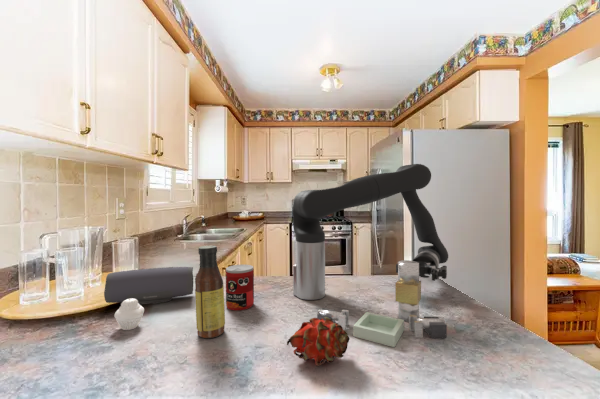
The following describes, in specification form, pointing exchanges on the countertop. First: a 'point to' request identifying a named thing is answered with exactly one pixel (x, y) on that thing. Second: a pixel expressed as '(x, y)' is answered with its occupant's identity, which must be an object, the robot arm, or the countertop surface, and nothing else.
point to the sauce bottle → (209, 295)
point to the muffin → (129, 314)
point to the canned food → (239, 287)
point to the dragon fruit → (320, 340)
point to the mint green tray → (379, 329)
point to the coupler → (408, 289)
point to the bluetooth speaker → (149, 284)
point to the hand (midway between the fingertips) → (417, 275)
